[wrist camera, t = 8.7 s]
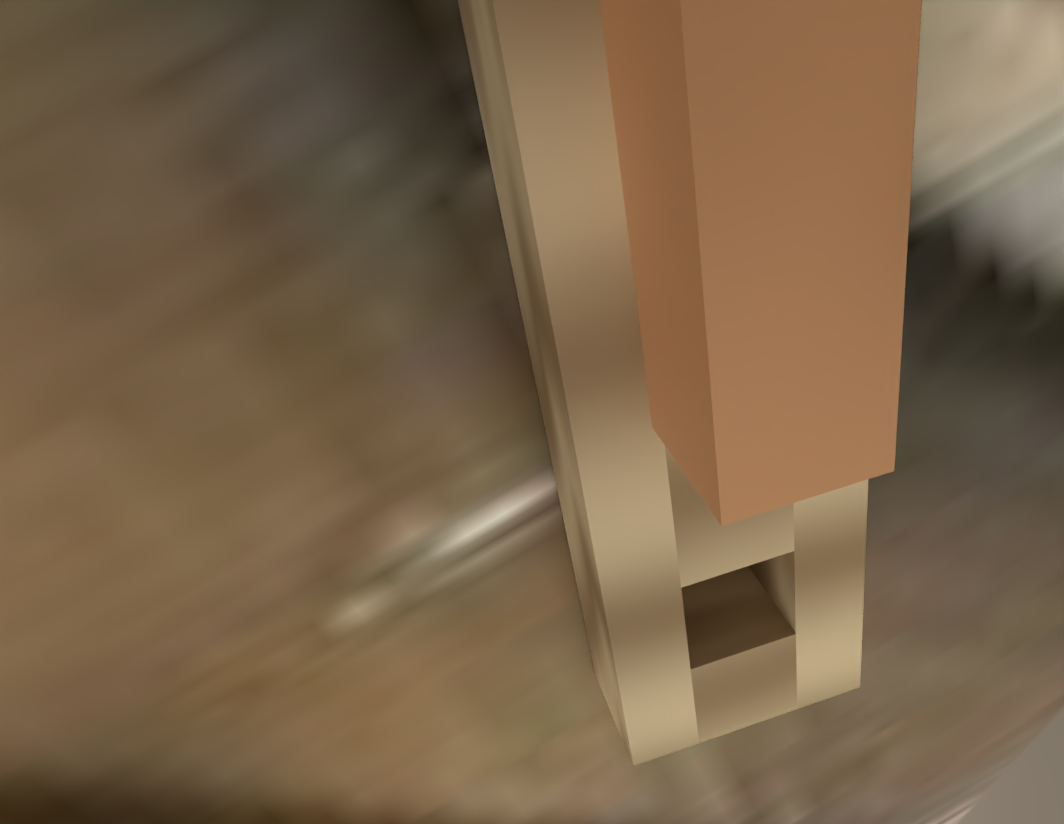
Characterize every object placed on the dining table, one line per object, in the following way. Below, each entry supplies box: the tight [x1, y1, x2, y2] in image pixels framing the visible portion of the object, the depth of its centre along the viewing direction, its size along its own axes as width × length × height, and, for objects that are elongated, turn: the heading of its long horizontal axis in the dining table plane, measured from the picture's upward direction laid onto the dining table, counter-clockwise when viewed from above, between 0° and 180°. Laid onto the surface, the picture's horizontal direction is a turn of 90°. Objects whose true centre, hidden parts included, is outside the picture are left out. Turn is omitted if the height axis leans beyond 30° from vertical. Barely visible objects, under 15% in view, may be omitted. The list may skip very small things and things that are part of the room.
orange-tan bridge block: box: [599, 0, 922, 526], centre depth 14 cm, size 10×3×6 cm, turn 10°
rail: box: [457, 0, 868, 766], centre depth 17 cm, size 22×6×3 cm, turn 10°
